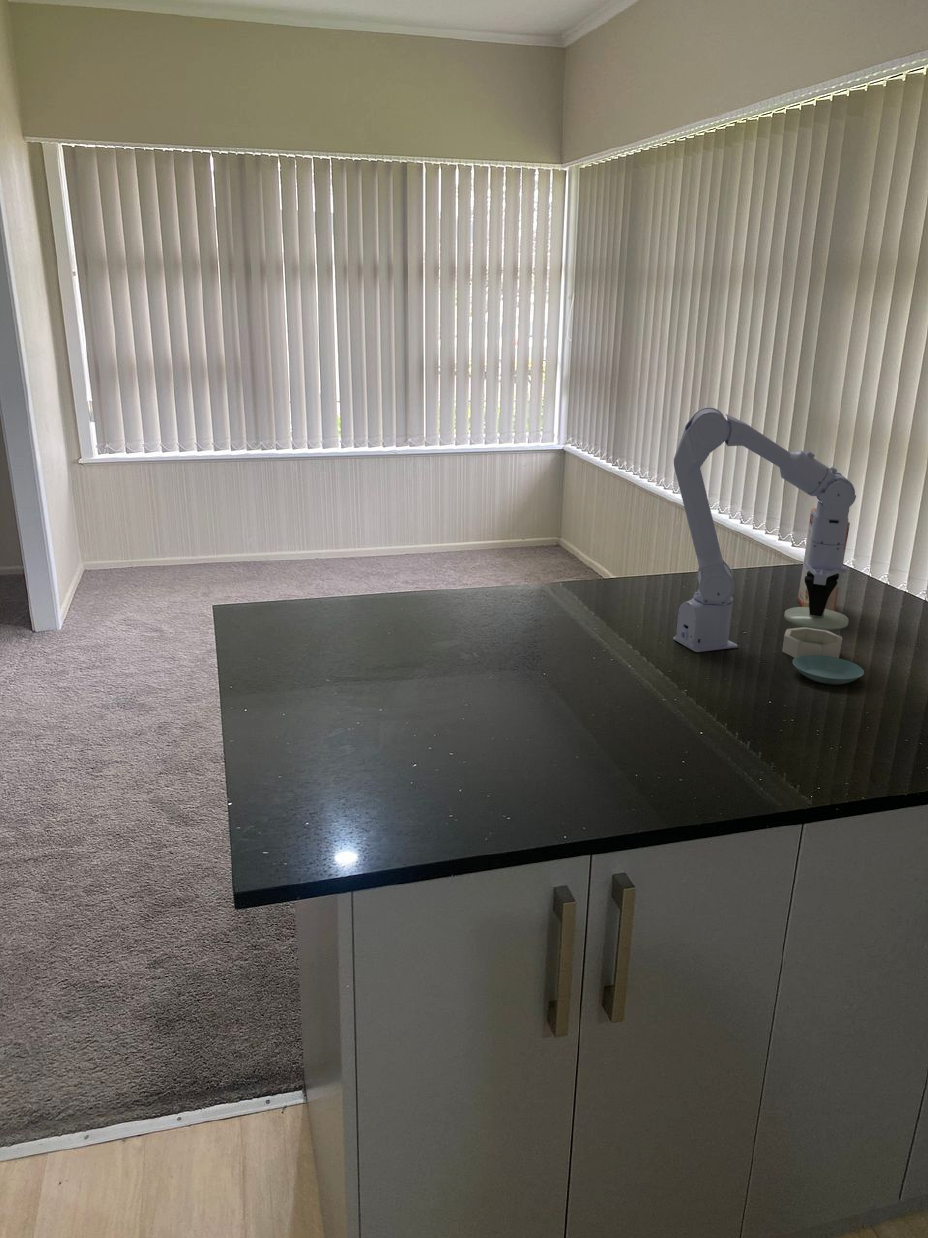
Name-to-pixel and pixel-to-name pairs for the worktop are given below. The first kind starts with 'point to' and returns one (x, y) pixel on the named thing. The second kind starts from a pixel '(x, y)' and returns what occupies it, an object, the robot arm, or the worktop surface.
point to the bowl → (811, 642)
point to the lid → (816, 619)
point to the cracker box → (803, 591)
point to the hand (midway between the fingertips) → (816, 612)
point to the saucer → (827, 669)
